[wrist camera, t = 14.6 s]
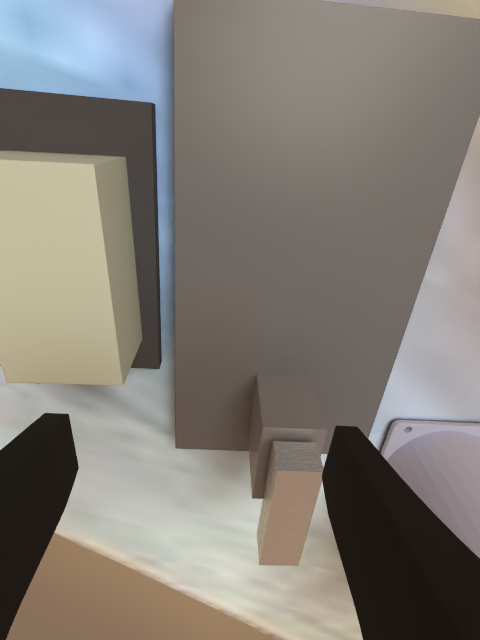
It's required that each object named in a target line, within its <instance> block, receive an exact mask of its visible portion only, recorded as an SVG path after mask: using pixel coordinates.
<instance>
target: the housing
mask: <svg viewBox="0 0 480 640" xmlns="http://www.w3.org/2000/svg"><path fill="white" fill-rule="evenodd" d="M479 115H480V19H474V18H466V17H457V16H449V15H440V14H432V13H423V12H415V11H406V10H398V9H389V8H381V7H372V6H364V5H355V4H347V3H338V2H330V1H321V0H174V194H175V444H176V448H182V449H209V450H235V451H249V456H250V472H251V488H252V498H258V499H263V496H264V490H265V484H266V479H267V473H268V467H269V461H270V456H271V450H272V444H273V441H287V442H312V443H316V444H317V447H318V451H319V455H320V456H321V454H328V452H329V448H330V444H331V441H332V437H333V434H334V430H335V426H357V427H358V428H359V429H360V430H361V431H362V432H363V434H364V435H365V436H366V437H367V438H368V437H369V435H370V432H371V429H372V426H373V423H374V420H375V417H376V414H377V411H378V408H379V405H380V403H381V400H382V397H383V394H384V391H385V388H386V385H387V382H388V379H389V376H390V374H391V371H392V368H393V365H394V362H395V359H396V356H397V353H398V350H399V347H400V344H401V342H402V339H403V336H404V333H405V330H406V327H407V324H408V321H409V318H410V315H411V312H412V310H413V307H414V304H415V301H416V298H417V295H418V292H419V289H420V286H421V283H422V281H423V278H424V275H425V272H426V269H427V266H428V263H429V260H430V257H431V254H432V251H433V249H434V246H435V243H436V240H437V237H438V234H439V231H440V228H441V225H442V222H443V220H444V217H445V214H446V211H447V208H448V205H449V202H450V199H451V196H452V193H453V190H454V188H455V185H456V182H457V179H458V176H459V173H460V170H461V167H462V164H463V161H464V159H465V156H466V153H467V150H468V147H469V144H470V141H471V138H472V135H473V132H474V129H475V127H476V124H477V121H478V118H479Z"/></svg>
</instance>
